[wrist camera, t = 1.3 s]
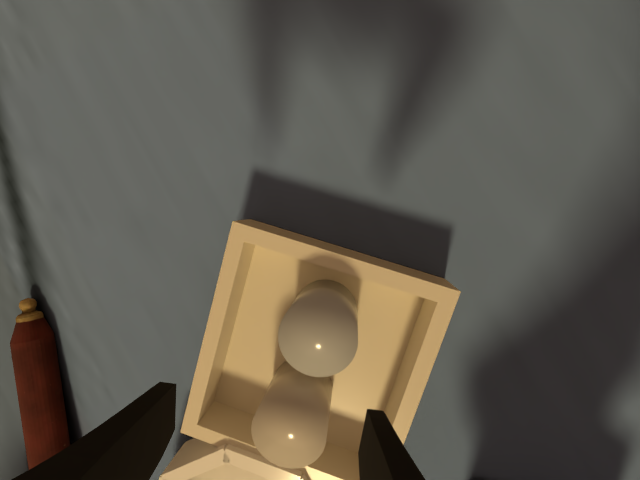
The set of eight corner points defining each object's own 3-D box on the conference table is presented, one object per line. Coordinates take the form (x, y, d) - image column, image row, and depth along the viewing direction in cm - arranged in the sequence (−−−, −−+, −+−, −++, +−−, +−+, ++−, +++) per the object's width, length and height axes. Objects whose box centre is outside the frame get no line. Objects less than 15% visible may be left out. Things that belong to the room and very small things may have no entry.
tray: (444, 278, 20) (460, 291, 17) (376, 466, 22) (379, 508, 19) (250, 218, 21) (232, 220, 18) (203, 402, 23) (180, 432, 20)
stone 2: (340, 369, 21) (335, 413, 16) (322, 423, 22) (314, 479, 17) (281, 349, 21) (261, 387, 17) (266, 402, 22) (243, 452, 17)
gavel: (-66, 311, 22) (52, 300, 21) (7, 296, 26) (107, 286, 25) (-23, 584, 22) (94, 590, 21) (41, 524, 27) (140, 526, 26)
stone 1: (365, 290, 20) (368, 314, 16) (346, 349, 21) (344, 388, 16) (304, 271, 20) (289, 289, 16) (287, 329, 21) (269, 362, 17)
